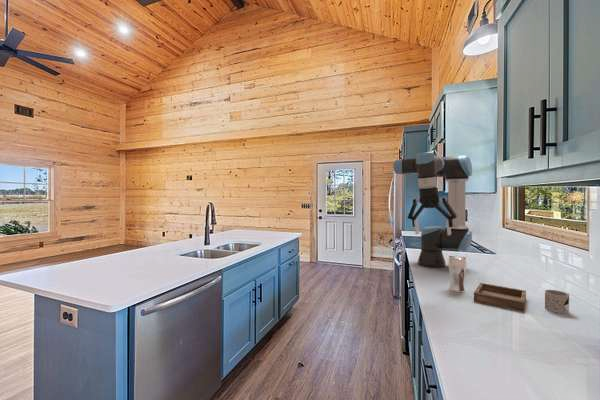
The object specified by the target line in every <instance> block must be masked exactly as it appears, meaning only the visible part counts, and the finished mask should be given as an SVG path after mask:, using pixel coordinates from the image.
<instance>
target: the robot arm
mask: <svg viewBox="0 0 600 400" xmlns="http://www.w3.org/2000/svg"><path fill="white" fill-rule="evenodd" d="M393 172H394V173H395V174H396V175H410V174H411V175H413V174H414V175H417V182H418V188H419V189H418V191H419V198H414V199H412V204H411V207H410V211H409V213H408V215H407V219H409V220H410V221H412V227H413V228H414V233H415V235H418V234H420V254H419V255H418V256H419V257H418V259H417V263H418V265H420V266H422V267H427V268H444V267H446V259H445V256H444V254H443V250H450V251H451V250H452V251H458V252H467V251H468V250H469V249H470V247H471V244H472V240H473V233H472V231H471V230H470V229H469V228H470V227H469V226H468V225H466V182H467V181H468V180H470V179H469V177H472V175H473V166H472V161H471V159H470V157H469V155H460V154H459V155H452V156H451V155H449V156H439V155H438V156H437V155H435V153H434V151H426V152H425V151H424V152H419V153H417V154H416V155H415V158H414V157H411V158H400V159H395V161H394V162H393ZM441 177H442V178H444V179H445V181H446V182H447V183H448V184H447V185H448V187H447V190H448V192H447V195H448V197H447V196H443V197H439V188H438V187H437V186H438V178H441ZM440 202H441V203H442V204H443V205H444V207H445V208H444V207H442V205H440ZM418 204H421V205H420V206H419V208H418V209H417V211H416V212H415V210H416V208H417V206H418ZM424 209H436V210H438V211H439V212H440V214H441V215H443V216H444V217H445V218H446V220H445V229H444V228H443V226H441V225H439V226H438V225H436V226H435V225H433V226H425V227H422V228H421V233H420V227H419V226H420V225H419V219H417V218H418V216H419V215H420V214H421V213H422V211H423V210H424ZM446 210H447V211H446Z"/></svg>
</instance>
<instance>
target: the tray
mask: <svg viewBox="0 0 600 400" xmlns="http://www.w3.org/2000/svg"><path fill="white" fill-rule="evenodd" d="M475 301H476V302H475ZM526 301H527V290H524V289H518V288H513V287H508V286H507V287H506V286H503V285H502V286H501V285H495V284H490V283H484V282H479V284H478V285H477V287H476V289H475V290H474V292H473V302H475V303H481V304H484V305H490V306H495V307H500V308H503V309H508V310H512V311H517V312H523V313H525V308H526Z"/></svg>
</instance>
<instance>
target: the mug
mask: <svg viewBox="0 0 600 400" xmlns="http://www.w3.org/2000/svg"><path fill="white" fill-rule="evenodd" d="M544 309H545V310H546V311H548V312H551V313H553V314H558V315H568V313H570V311H569V310H570V293H567V292H565V291H561V290H555V289H546V290H544Z"/></svg>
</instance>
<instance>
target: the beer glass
mask: <svg viewBox="0 0 600 400" xmlns="http://www.w3.org/2000/svg"><path fill="white" fill-rule="evenodd" d="M466 259H467V258H466V257H465V256H461V255H449V256H448V273H449V279H450V284H449V291H451V292H453V293H459V292H462V293H465V292H466V288H465V279H466V274H467V260H466Z"/></svg>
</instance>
